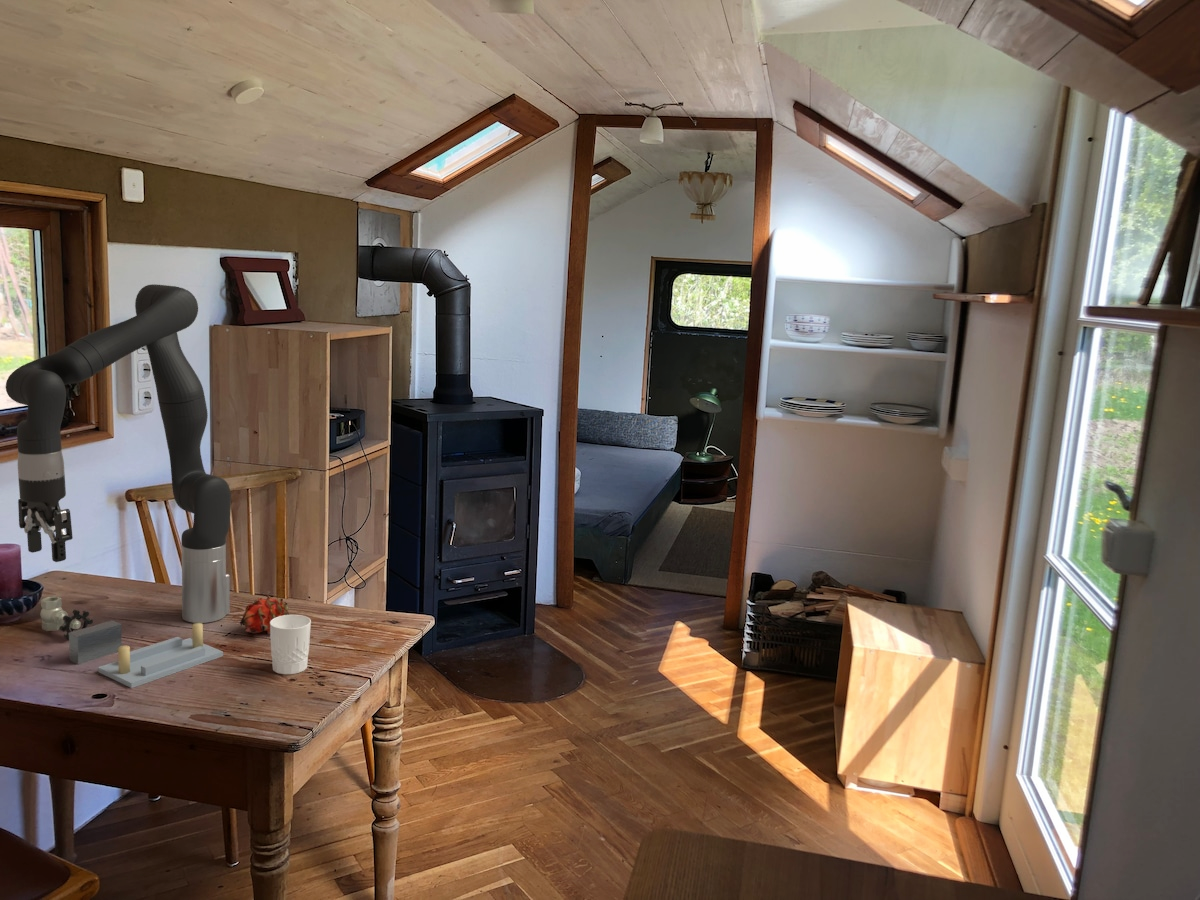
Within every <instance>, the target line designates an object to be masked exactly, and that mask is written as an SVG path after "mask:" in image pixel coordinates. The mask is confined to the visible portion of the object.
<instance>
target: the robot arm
mask: <svg viewBox="0 0 1200 900" xmlns="http://www.w3.org/2000/svg"><path fill="white" fill-rule="evenodd" d="M198 306H199V303H198V301H197V298H196V296H195V295H194V294H193V293H192V292H191V291H189V290H188V289H185V288H183V287H179V286H175V285H166V284H165V285H164V284H155V283H154V284H147V285H145V286H143V287H141V289H140V290H139V291H138V293H137V295H136V297H135V302H134V307H135V314H136V315H135V316H133V317H130V318H128V319H126V320H124V321H121V322H118V323H115V324H112V325H109V326H107V327H106V326H105V327H103V328H100V329H97V330H95V331H92V332H90V333H88V334H86V335H84V336H82V337H80V338H78V339H77V340H74V341H73V342H71V343H70V344H68V345H67V346H65V347H63V348H61V349H60V350H59V351H56V352H53V353H51V354H47V355H46V356H42V357H39V358H37V359H35V360H31V361H29V362H27V363H25V364H23V365H21V366H19V367H17V368H16V369H14V370H13V372H11V374H10V375H9V376H8V378H7V380H6V382H5V391H6V394H7V396H8V397H9V398H10V399H11V400H12V401H14V402H16V403H18V404H19V405H24V406H27V413H26V419H23V420H21V421H20V422H18V424H17V426H16V427H17V428H16V439H17V441H16V442H17V455H18V456H17V476H18V479H17V480H18V488H19V490H18V491H19V498H18V501H17V503H18V505H17V506H18V507H17V508H18V526H19V528H20V529H23V530H24V533H25V534H26V536H27V538H26V539H27V549H28V550H27V551H28V552H29V553H32V554H33V553H37V552H41V551H42V549H43V548H42V547H43V546H42V544H43V543H42V532H41V529H43V530H42V531H43V532H44V534H46V535H48V537H49V539H50V542H51V544H50V545H51V559H52V561H53V562H55V563H60V562H63V561H65V560H66V559H67V554H66V553H67V551H66V542H67V541H71V540H73V529H72V527H73V526H72V517H71V510H70V509H69V508H65V509H64V508H63V509H61V506H60V501H61V500H62V499H63V498H65V497H66V496H67V495H66V494H67V492H66V476H65V475H66V474H65V461H64V456H63V450H62V438H61V437H62V436H61V425H62V422H63V419H64V413H65V408H66V401H67V390H66V385H69V384H79V383H80V384H81V383H83V382H84V381H85V382H86V381H87V380H89V379H90V378H92V377H94V376H95V375H96V374H98V373H100V372H101V371H103V370H104V369H106V368H107V367H109V366H110V365H112V364H114V363H116V362H117V361H119V360H121V359H123V358H124V357H126V356H128V355H130V354H131V353H132V354H133V352H135V351H138V350H140V349H141V348H144V347H146V350H147V353H148V357H149V361H150V367H151V372H152V375H153V380H154V384H155V388H156V389H155V390H156V395H157V401H158V406H159V411H160V415H161V420H162V423H163V428H164V435H165V438H166V439H165V440H166V445H167V449H168V454H169V461H170V462H169V464H170V475H171V485H172V486H171V487H172V488H171V489H172V493H173V498H174V501H175V503H176V505H177V506H178V507H179V508H180V509H181V510H183V511H185V512H187V513H191V514H193V525H192V527H190V528H187V529H185V530H184V531H183V532H182V533H181V536H180V537H181V542H180V543H181V617H182V620H184V621H185V622H189V623H193V624H194V623H202V624H203V623H204V624H205V623H206V624H207V623H213V622H216V621H219V620H221V619H223V618H225V617H226V615H230V613H231V612H230V609H231V608H230V606H231V605H230V604H231V603H230V599H231V598H230V596H231V595H230V588H231V587H230V585H231V584H230V581H231V577H230V574H229V573H227V569H226V568H227V561H226V560H227V558H226V557H227V555H226V554H227V551H226V550H227V549H226V547H227V543H226V542H227V541H226V540H227V536H228V534H229V529H230V526H231V506H232V495H231V494H232V493H231V488H230V485H229V484H228V482H227V481H226V480H225V479H223V478H222V477H219V476H216V475H212V474H209V473H207V472H206V471H205V467H204V465H203V459H202V454H201V443H202V439H203V436H204V433H205V430H206V427H207V423H208V414H209V413H208V408H207V401H206V397H205V391H204V386H203V385H202V382H201V381H200V379H199V376H198V375H197V373H196V372H195V370H194V368H193V367H192V365H191V363H189V361H188V359H187V357H186V356H185V353H184V352H183V349H182V347H181V345H180V340H179V335H178V332H181V331H183V330H186V329H187V328H189V327H190V326H191V325H192V324H193V323H194V322H195V320H196V319H197V317H198V314H199V307H198Z"/></svg>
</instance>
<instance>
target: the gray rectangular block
mask: <svg viewBox="0 0 1200 900" xmlns="http://www.w3.org/2000/svg"><path fill="white" fill-rule="evenodd" d="M68 643H69V644H68V646H69V647H68V648H69V661H70V662H71V663H74V664H76V665H81V664H85V663H88V662H91V661H96V660H98V659H100V658H101V659H102V658H104V657H107V656H110V655H113V654H116V653H117V654H118V647H120V646H123V645H122V644H123V643H122V623H120V622H118V621H115V620H108V621H106V622H101V623H97V624H95V625H90V626H87V628H83V629H81V628H80V629H75V631H73V632H72V631H71V632H69V639H68Z"/></svg>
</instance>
